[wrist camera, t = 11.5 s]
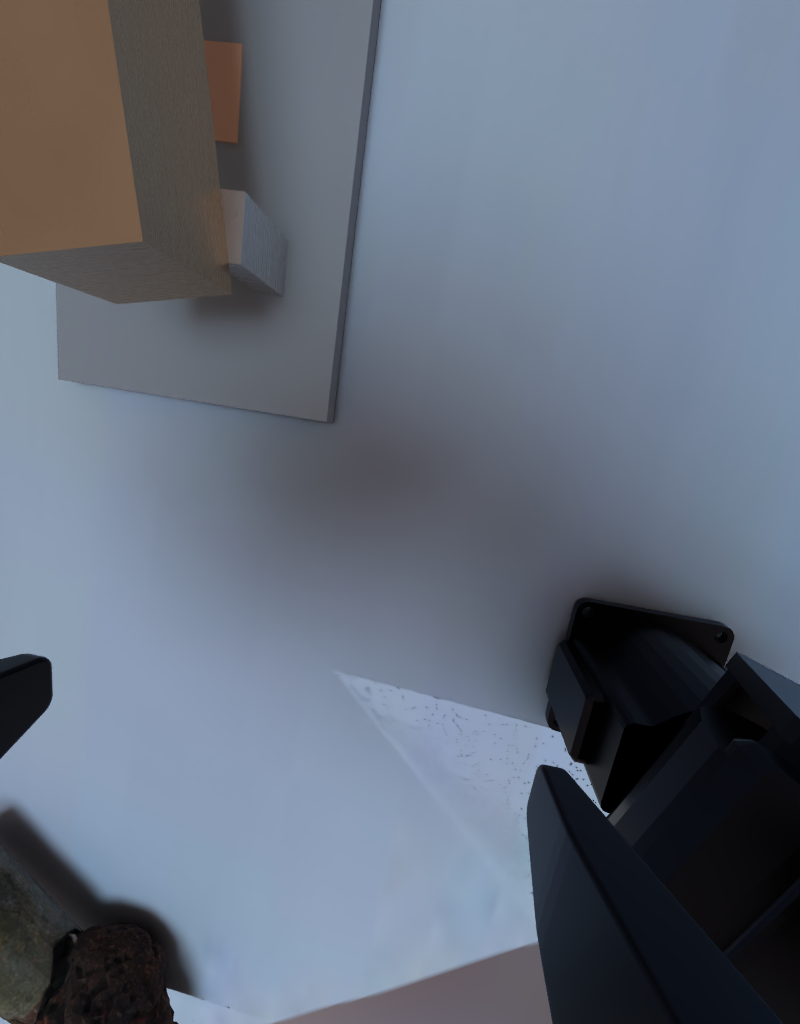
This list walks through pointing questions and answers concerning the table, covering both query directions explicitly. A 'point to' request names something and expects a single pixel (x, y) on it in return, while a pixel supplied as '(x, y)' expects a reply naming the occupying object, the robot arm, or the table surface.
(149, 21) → the tan wooden bar
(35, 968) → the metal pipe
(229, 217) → the set of grey blocks
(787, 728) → the robot arm
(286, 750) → the table surface
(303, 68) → the plate
